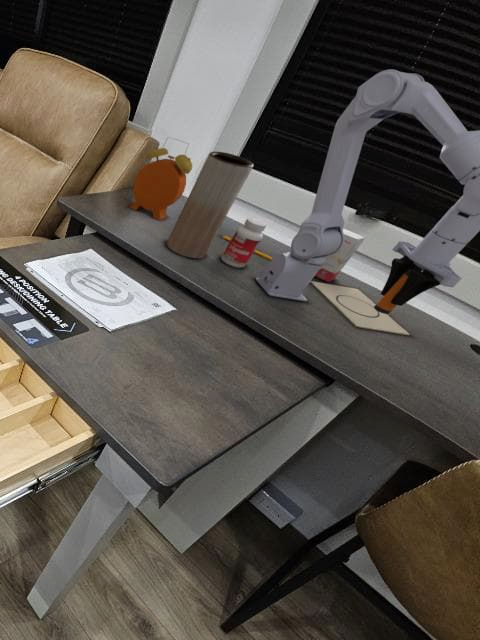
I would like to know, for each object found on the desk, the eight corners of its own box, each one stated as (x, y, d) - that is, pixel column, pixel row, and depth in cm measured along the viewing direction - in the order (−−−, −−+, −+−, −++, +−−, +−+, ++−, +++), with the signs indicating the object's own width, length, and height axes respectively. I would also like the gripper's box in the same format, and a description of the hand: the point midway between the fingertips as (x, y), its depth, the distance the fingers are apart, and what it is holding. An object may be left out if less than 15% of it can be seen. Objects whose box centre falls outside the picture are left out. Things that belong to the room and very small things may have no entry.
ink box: (334, 279, 120) (367, 237, 112) (326, 283, 117) (359, 240, 109) (303, 264, 124) (332, 222, 116) (294, 267, 122) (324, 225, 114)
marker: (379, 313, 92) (414, 274, 86) (370, 305, 94) (405, 266, 88) (392, 315, 93) (428, 276, 86) (383, 307, 95) (418, 269, 89)
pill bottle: (217, 260, 117) (241, 219, 110) (224, 254, 121) (247, 214, 113) (241, 270, 115) (267, 229, 107) (247, 264, 118) (272, 223, 111)
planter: (208, 252, 120) (258, 162, 105) (197, 262, 114) (248, 168, 99) (173, 237, 124) (216, 149, 109) (160, 247, 118) (204, 154, 103)
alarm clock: (172, 218, 136) (205, 146, 122) (164, 222, 132) (197, 148, 119) (132, 202, 141) (160, 131, 128) (124, 205, 137) (152, 133, 124)
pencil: (283, 267, 121) (285, 264, 121) (221, 238, 130) (223, 235, 130) (285, 266, 121) (286, 264, 121) (223, 237, 131) (224, 235, 130)
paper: (355, 326, 101) (357, 325, 101) (310, 282, 116) (311, 280, 116) (409, 335, 102) (410, 334, 102) (357, 290, 117) (358, 288, 117)
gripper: (501, 258, 77) (434, 323, 87) (440, 224, 88) (386, 284, 97) (463, 251, 77) (400, 317, 86) (407, 217, 88) (356, 279, 97)
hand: (390, 299), depth 92 cm, fingers closed on marker, 3 cm apart
